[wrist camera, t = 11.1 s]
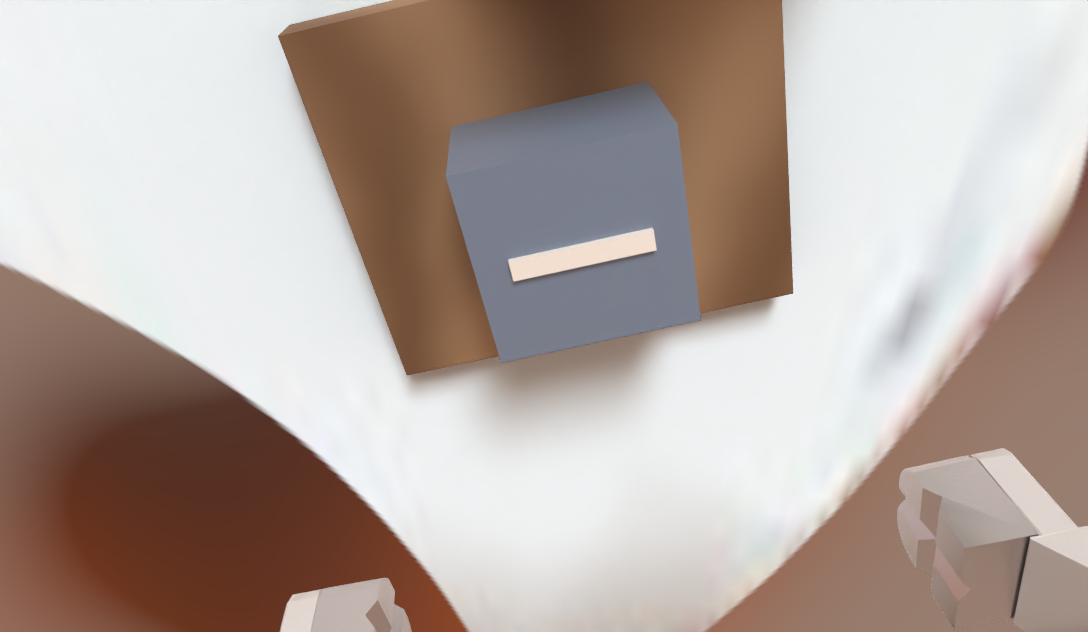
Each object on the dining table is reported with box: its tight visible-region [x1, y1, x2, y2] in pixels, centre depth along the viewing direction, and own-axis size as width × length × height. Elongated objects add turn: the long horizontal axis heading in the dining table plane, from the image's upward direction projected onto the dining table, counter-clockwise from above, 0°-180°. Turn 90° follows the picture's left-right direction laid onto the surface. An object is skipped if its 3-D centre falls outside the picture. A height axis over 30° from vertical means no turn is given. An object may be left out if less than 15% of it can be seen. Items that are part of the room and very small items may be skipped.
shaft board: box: [278, 0, 793, 375], centre depth 23 cm, size 14×12×4 cm
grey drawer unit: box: [446, 82, 701, 363], centre depth 23 cm, size 6×6×4 cm
